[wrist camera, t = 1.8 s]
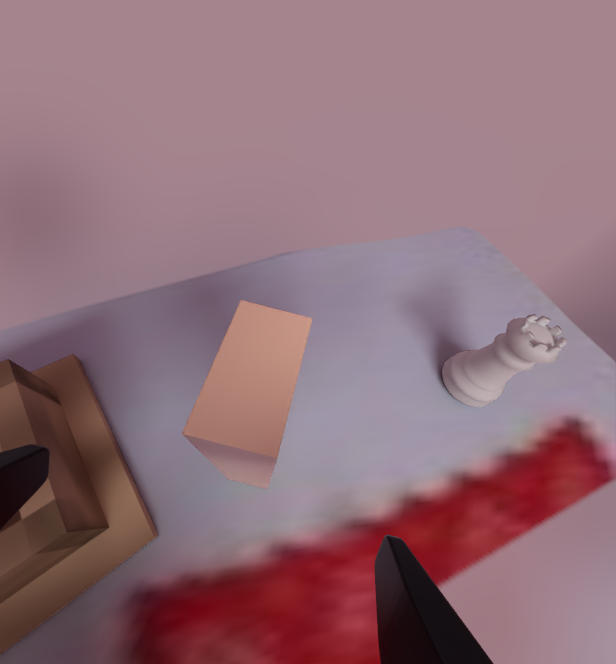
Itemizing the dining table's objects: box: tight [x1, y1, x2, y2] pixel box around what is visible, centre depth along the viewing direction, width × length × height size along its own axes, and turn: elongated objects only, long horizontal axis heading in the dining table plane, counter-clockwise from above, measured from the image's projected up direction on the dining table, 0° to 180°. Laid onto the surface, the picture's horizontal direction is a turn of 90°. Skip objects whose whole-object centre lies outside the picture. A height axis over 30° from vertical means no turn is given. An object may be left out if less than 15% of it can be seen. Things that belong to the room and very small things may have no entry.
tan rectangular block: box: [182, 300, 313, 489], centre depth 14 cm, size 4×2×12 cm, turn 168°
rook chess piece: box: [442, 314, 566, 407], centre depth 21 cm, size 4×4×8 cm
